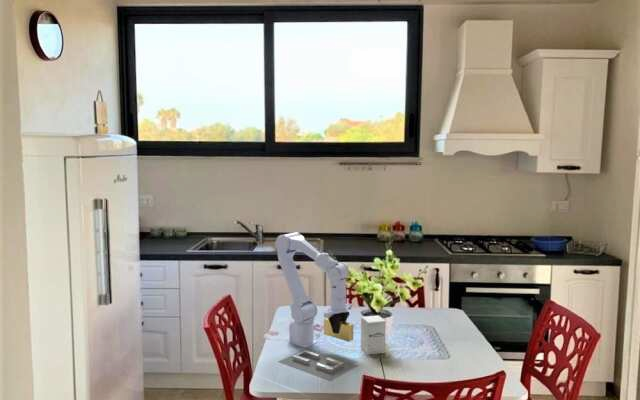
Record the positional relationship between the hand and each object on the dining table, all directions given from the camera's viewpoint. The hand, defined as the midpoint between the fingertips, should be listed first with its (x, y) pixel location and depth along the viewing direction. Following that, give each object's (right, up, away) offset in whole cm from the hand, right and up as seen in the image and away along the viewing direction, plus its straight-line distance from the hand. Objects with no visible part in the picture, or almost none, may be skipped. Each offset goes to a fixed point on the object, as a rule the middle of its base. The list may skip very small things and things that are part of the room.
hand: (338, 331), depth 193 cm
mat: (-7, -9, -10) cm, 15 cm away
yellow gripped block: (0, -2, 0) cm, 2 cm away
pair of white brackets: (-7, -9, -10) cm, 15 cm away
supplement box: (+13, -8, +3) cm, 16 cm away
